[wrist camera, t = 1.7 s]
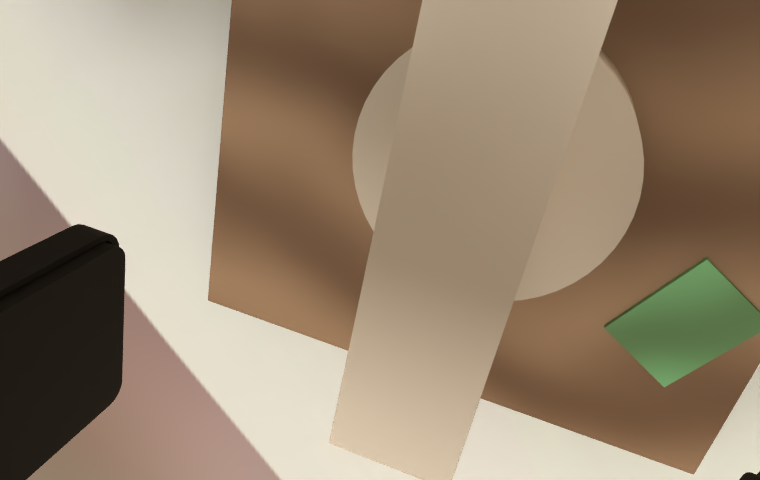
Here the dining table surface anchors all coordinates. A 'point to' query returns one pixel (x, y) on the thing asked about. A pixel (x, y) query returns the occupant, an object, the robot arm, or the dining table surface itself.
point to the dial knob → (477, 209)
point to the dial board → (548, 312)
